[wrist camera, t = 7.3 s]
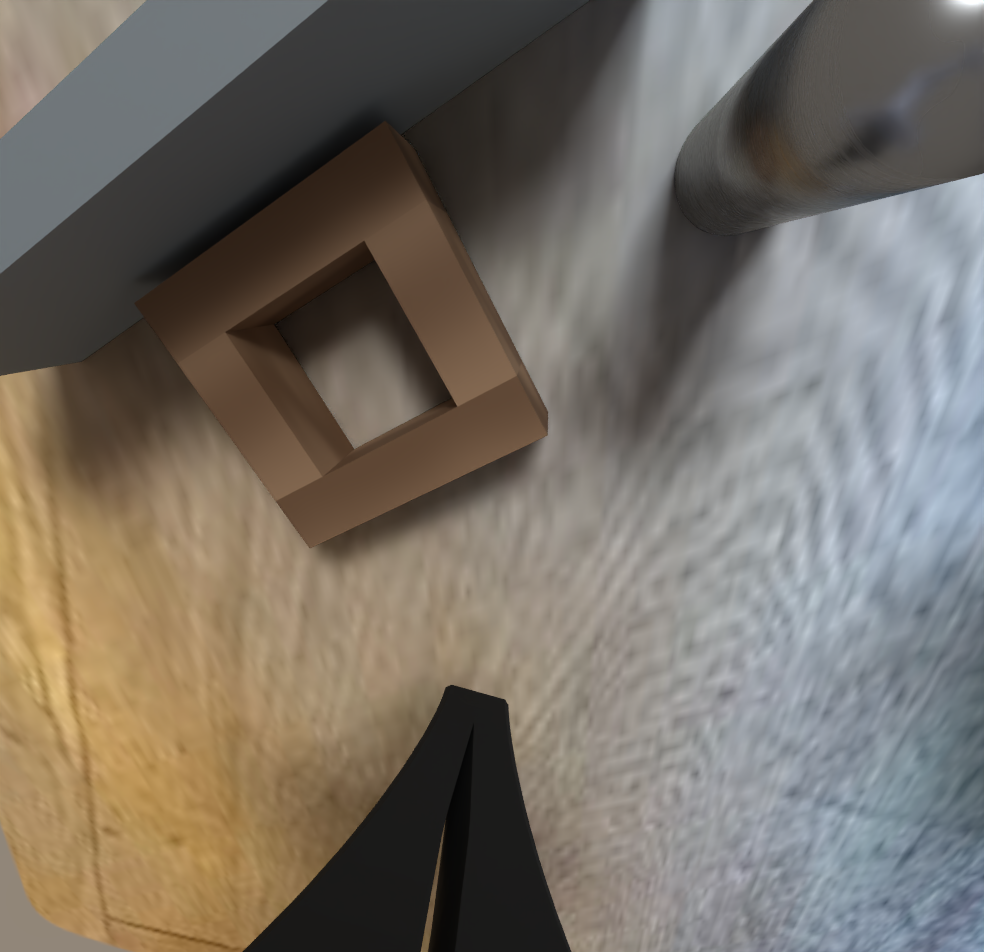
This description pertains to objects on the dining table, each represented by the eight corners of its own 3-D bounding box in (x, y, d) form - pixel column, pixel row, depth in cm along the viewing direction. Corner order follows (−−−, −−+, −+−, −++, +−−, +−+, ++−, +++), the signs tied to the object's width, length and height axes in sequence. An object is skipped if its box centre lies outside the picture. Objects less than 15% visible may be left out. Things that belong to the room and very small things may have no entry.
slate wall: (661, -51, 11) (766, -366, 6) (81, 361, 17) (-154, 402, 11) (634, -128, 11) (721, -547, 5) (49, 320, 16) (-213, 340, 11)
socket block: (547, 412, 15) (547, 435, 13) (341, 513, 18) (309, 548, 15) (414, 148, 13) (385, 120, 11) (196, 299, 15) (133, 303, 13)
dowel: (814, 195, 13) (1179, 79, 5) (699, 257, 14) (878, 229, 6) (777, 71, 12) (1144, -268, 5) (656, 144, 13) (803, -43, 5)
